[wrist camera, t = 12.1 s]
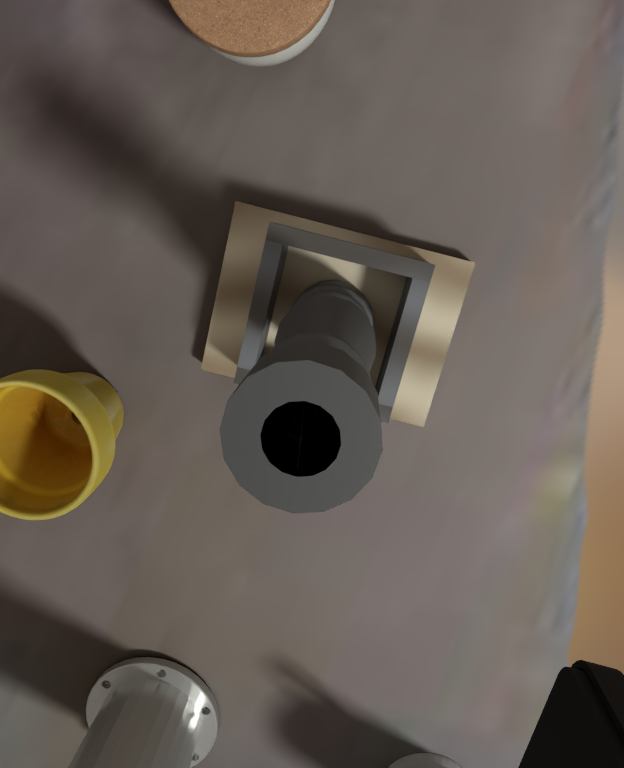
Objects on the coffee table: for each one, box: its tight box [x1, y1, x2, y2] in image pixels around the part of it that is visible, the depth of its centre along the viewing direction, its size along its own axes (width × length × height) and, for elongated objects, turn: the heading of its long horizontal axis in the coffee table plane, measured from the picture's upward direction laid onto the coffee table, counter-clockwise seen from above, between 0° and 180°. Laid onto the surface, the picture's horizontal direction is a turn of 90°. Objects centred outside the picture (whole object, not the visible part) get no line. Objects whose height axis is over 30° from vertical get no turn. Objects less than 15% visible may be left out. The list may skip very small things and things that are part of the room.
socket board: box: [201, 201, 475, 427], centre depth 43 cm, size 13×18×6 cm
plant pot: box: [0, 369, 124, 520], centre depth 44 cm, size 10×10×10 cm
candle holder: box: [220, 279, 383, 513], centre depth 32 cm, size 6×6×25 cm
